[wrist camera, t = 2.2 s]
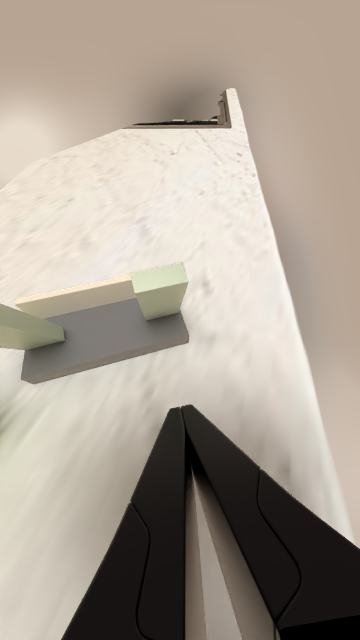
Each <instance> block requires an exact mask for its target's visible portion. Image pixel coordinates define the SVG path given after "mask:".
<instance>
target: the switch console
mask: <svg viewBox="0 0 360 640" xmlns="http://www.w3.org/2000/svg"><path fill="white" fill-rule="evenodd" d="M15 305H16V306H17V307H18V308H20V309H21V310H22V311H23V312H24V313H27V314H30V315H32V316H35V317H38V318H41V319H43V320H46V321H49V322H51V323H54V324H57V325H60V326H62V327H63V331H64V338H65V341H61V342H57V343H53V344H49V345H45V346H41V347H37V348H33V349H28V350H25V354H24V361H23V367H22V374H21V380H24V381H27V382H29V383H32V384H36V383H40V382H44V381H48V380H51V379H55V378H59V377H62V376H66V375H70V374H74V373H77V372H81V371H85V370H88V369H92V368H96V367H99V366H103V365H107V364H111V363H114V362H118V361H122V360H125V359H129V358H133V357H137V356H140V355H144V354H148V353H151V352H155V351H159V350H162V349H166V348H170V347H174V346H177V345H181V344H185V343H188V340H189V334H188V331H187V328H186V325H185V323H184V320H183V317H182V314H181V311H180V310H179V313H175V314H171V315H167V316H163V317H159V318H155V319H151V320H147V321H146V320H145V318H144V315H143V313H142V310H141V308H140V305H139V303H138V300H137V298H136V295H135V292H134V288H133V284H132V280H131V276H130V275H127V276H123V277H118V278H113V279H108V280H103V281H99V282H94V283H89V284H84V285H80V286H75V287H70V288H65V289H61V290H56V291H51V292H46V293H41V294H37V295H32V296H27V297H22V298H18V299H16V301H15Z"/></svg>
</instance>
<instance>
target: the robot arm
mask: <svg viewBox="0 0 360 640" xmlns="http://www.w3.org/2000/svg"><path fill="white" fill-rule="evenodd" d="M192 471H193V473H192ZM193 476H194V480H195V483H196V487H197V490H198V494H199V497H200V500H201V503H202V507H203V510H204V513H205V517H206V520H207V523H208V527H209V530H210V533H211V537H212V540H213V543H214V547H215V550H216V553H217V557H218V560H219V563H220V567H221V570H222V573H223V576H224V580H225V583H226V586H227V590H228V593H229V596H230V600H231V603H232V606H233V610H234V613H235V616H236V620H237V623H238V626H239V630H240V633H241V636H242V640H360V549H359V548H358V547H356V546H355V545H354V544H353V543H351V542H350V541H349V540H347V539H346V538H345V537H344V536H342V535H341V534H340V533H338V532H337V531H336V530H334V529H333V528H332V527H331V526H329V525H328V524H327V523H325V522H324V521H323V520H321V519H320V518H319V517H318V516H316V515H315V514H314V513H313V512H311V511H310V510H309V509H308V508H306V507H305V506H304V505H303V504H301V503H300V502H299V501H298V500H296V499H295V498H294V497H293V496H292V495H290V494H289V493H288V492H287V491H286V490H285V489H284V488H282V487H281V486H280V485H279V484H278V483H277V482H276V481H274V480H273V479H272V478H271V477H270V476H269V475H268V474H267V473H266V472H265V471H264V470H262V469H261V470H260V467H259V466H258V465H257V464H256V463H255V462H254V461H253V460H252V459H250V458H249V457H248V456H247V455H246V454H245V453H244V452H243V451H242V450H241V449H240V448H239V447H237V446H236V445H235V444H234V443H233V442H232V441H231V440H230V439H229V438H228V437H227V436H225V435H224V434H223V433H222V432H221V431H220V430H219V429H218V428H217V427H216V426H215V425H214V424H212V423H211V422H210V421H209V420H208V419H207V418H206V417H205V416H204V415H203V414H202V413H200V412H199V411H198V410H197V409H196V408H195V407H194V406H193V405H191V404H190V405H185V406H182V407H181V408H180V407H176V408H171V409H170V410H169V412H168V414H167V416H166V419H165V421H164V423H163V425H162V428H161V430H160V432H159V435H158V437H157V439H156V442H155V444H154V446H153V449H152V451H151V453H150V456H149V458H148V460H147V463H146V465H145V467H144V470H143V472H142V474H141V477H140V479H139V481H138V483H137V486H136V488H135V490H134V493H133V495H132V497H131V500H130V502H131V503H129V504H128V506H127V509H126V511H125V513H124V516H123V518H122V520H121V523H120V525H119V527H118V529H117V531H116V533H115V536H114V538H113V540H112V542H111V544H110V546H109V549H108V551H107V553H106V555H105V557H104V558H103V560H102V562H101V564H100V566H99V568H98V570H97V572H96V574H95V576H94V578H93V580H92V582H91V584H90V586H89V588H88V590H87V592H86V593H85V595H84V597H83V599H82V601H81V603H80V605H79V607H78V609H77V610H76V612H75V614H74V616H73V618H72V620H71V622H70V624H69V626H68V627H67V629H66V631H65V633H64V635H63V637H62V639H61V640H207V638H206V626H205V614H204V601H203V589H202V577H201V565H200V553H199V541H198V528H197V516H196V504H195V492H194V481H193Z"/></svg>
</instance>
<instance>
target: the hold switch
mask: <svg viewBox="0 0 360 640" xmlns="http://www.w3.org/2000/svg"><path fill="white" fill-rule="evenodd" d="M61 341H65V338H64V331H63V327H62V326H60V325H57V324H54V323H51V322H49V321H46V320H43V319H41V318H38V317H35V316H32V315H30V314H27V313H24V312H22V311H19V310H16V309H13V308H11V307H8V306H5V305H3V304H0V348H9V349H19V350H28V349H33V348H37V347H41V346H45V345H49V344H53V343H57V342H61Z"/></svg>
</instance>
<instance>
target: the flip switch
mask: <svg viewBox="0 0 360 640" xmlns="http://www.w3.org/2000/svg"><path fill="white" fill-rule="evenodd" d="M130 276H131V280H132V284H133V288H134V292H135V295H136V298H137V300H138V303H139V305H140V308H141V310H142V313H143V315H144V318H145V320H146V321H147V320H151V319H155V318H159V317H163V316H167V315H171V314H175V313H179V310H180V307H181V304H182V301H183V298H184V294H185V291H186V288H187V285H188V282H189V281H188V278H187V275H186V271H185V268H184V265H183V262H181V263H176V264H172V265H167V266H162V267H157V268H152V269H148V270H143V271H138V272H133V273H130Z"/></svg>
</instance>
